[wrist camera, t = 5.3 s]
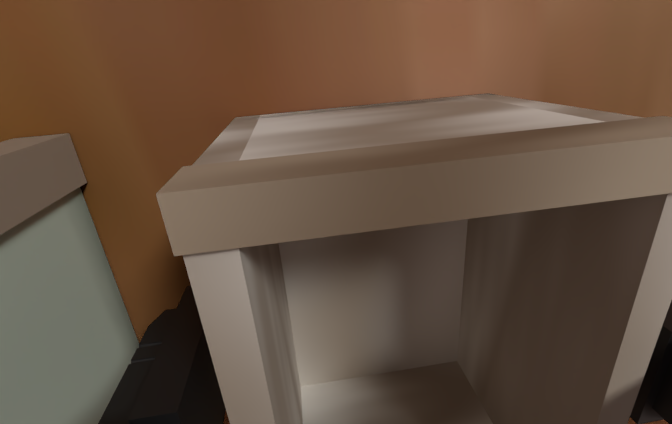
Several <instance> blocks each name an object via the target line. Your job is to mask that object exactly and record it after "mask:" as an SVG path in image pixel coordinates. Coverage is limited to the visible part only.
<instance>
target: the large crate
mask: <svg viewBox="0 0 672 424" xmlns="http://www.w3.org/2000/svg"><path fill="white" fill-rule="evenodd" d="M85 183H87V181H86V178H85V176H84V173H83V170H82V167H81V165H80V162H79V159H78V156H77V154H76V151H75V148H74V146H73V143H72V140H71V137H70V135H69V133H67V134H57V135H46V136H36V137H25V138H15V139H10V140H7V141H3V142H0V424H98V423H99V421H100V419H101V417H102V415H103V413H104V411H105V409H106V407H107V405H108V404H109V402H110V400H111V398H112V396H113V394H114V392H115V390H116V388H117V386H118V384H119V382H120V380H121V378H122V376H123V375H124V373H125V371H126V369H127V367H128V365H129V364H131V359H132V357H133V355H134V353H135V351H136V349H137V348H139V342H138V340H137V337H136V334H135V332H134V329H133V326H132V324H131V321H130V318H129V316H128V313H127V310H126V308H125V305H124V303H123V300H122V297H121V295H120V292H119V289H118V287H117V284H116V281H115V279H114V276H113V273H112V271H111V268H110V266H109V263H108V260H107V258H106V255H105V252H104V250H103V247H102V244H101V242H100V239H99V236H98V234H97V231H96V228H95V226H94V223H93V221H92V218H91V215H90V213H89V210H88V207H87V205H86V202H85V199H84V197H83V194H82V191H81V189H80V187H81V186H82V185H84V184H85Z"/></svg>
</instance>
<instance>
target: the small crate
mask: <svg viewBox="0 0 672 424" xmlns="http://www.w3.org/2000/svg"><path fill="white" fill-rule="evenodd" d="M156 196H157V200H158V203H159V207H160V210H161V213H162V217H163V220H164V224H165V227H166V231H167V234H168V237H169V241H170V244H171V248H172V251H173V255H174V256H180V255H183V258H184V262H185V266H186V269H187V273H188V276H189V280H190V283H191V287H192V291H193V294H194V298H195V301H196V305H197V308H198V312H199V315H200V319H201V323H202V326H203V330H204V333H205V337H206V340H207V344H208V348H209V351H210V355H211V358H212V362H213V365H214V369H215V372H216V376H217V380H218V383H219V387H220V390H221V394H222V397H223V401H224V404H225V408H226V412H227V415H228V419H229V422H230V424H627V423H628V420H629V418H630V415H631V412H632V409H633V406H634V404H635V401H636V398H637V395H638V392H639V390H640V387H641V384H642V381H643V379H644V376H645V373H646V370H647V367H648V365H649V362H650V359H651V356H652V353H653V351H654V348H655V345H656V342H657V339H658V337H659V334H660V331H661V328H662V325H663V323H664V320H665V317H666V314H667V311H668V309H669V306H670V303H671V300H672V117H667V116H657V117H647V118H643V117H636V116H630V115H624V114H617V113H611V112H604V111H598V110H591V109H585V108H578V107H572V106H565V105H559V104H552V103H546V102H539V101H533V100H526V99H520V98H513V97H507V96H501V95H494V94H478V95H467V96H457V97H446V98H436V99H425V100H415V101H404V102H394V103H383V104H373V105H362V106H352V107H341V108H330V109H320V110H309V111H299V112H288V113H278V114H267V115H257V116H246V117H236V118H235V119H234V120H233V121H232V122H231V123H230V124H229V125H228V126H227V127H226V129H225V130H224V131H223V132H222V133H221V134H220V135H219V136H218V137H217V138H216V140H215V141H214V142H213V143H212V144H211V145H210V146H209V147H208V148H207V149H206V151H205V152H204V153H203V154H202V155H201V156H200V157H199V158H198V159H197V161H196V162H195V163H194V164H193V165H192V166H183V167H182V168H181V169H180V170H179V171H178V172H177V173H176V174H175V175H174V176H173V177H172V178H171V179H170V180H169V181H168V182H167V183H166V184H165V185H164V186H163V187H162V188H161V189H160V190H159V191H158V192H157V193H156Z"/></svg>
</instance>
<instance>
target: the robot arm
mask: <svg viewBox="0 0 672 424" xmlns="http://www.w3.org/2000/svg"><path fill="white" fill-rule="evenodd" d="M225 410H226V408H225V404H224V401H223V397H222V394H221V390H220V387H219V383H218V380H217V376H216V372H215V369H214V365H213V362H212V358H211V355H210V351H209V348H208V344H207V340H206V337H205V333H204V330H203V326H202V323H201V319H200V315H199V312H198V308H197V305H196V301H195V298H194V294H193V291H192V287H191V286H187V287H186V289H185V291H184V293H183V296H182V298H181V300H180V302H179V305H178V307H177V309H170V310H165V311H164V312H163V313H162V314H161V315H160V316H159V317H158V318H157V319H156V320H155V321H154V322H152V323H151V324H150V325H149V326H148V328H147V330H146V332H145V334H144V336H143V338H142V340H141V342H140V344H139V348H137V349H136V351H135V353H134V355H133V357H132V359H131V364H129V365H128V367H127V369H126V371H125V373H124V375H123V376H122V378H121V380H120V382H119V384H118V386H117V388H116V390H115V392H114V394H113V396H112V398H111V400H110V402H109V404H108V405H107V407H106V409H105V411H104V413H103V415H102V417H101V419H100V421H99V423H98V424H223V422H224V416H225ZM630 417H631V418H632V419H633V420H634V421H635V422H636V423H637V424H642V423H648V422H653V421H658V420H663V419H664V420H665V421H667V422H668V423H669V424H672V300H671V303H670V306H669V309H668V311H667V314H666V317H665V320H664V323H663V325H662V328H661V331H660V334H659V337H658V339H657V342H656V345H655V348H654V351H653V353H652V356H651V359H650V362H649V365H648V367H647V370H646V373H645V376H644V379H643V381H642V384H641V387H640V390H639V392H638V395H637V398H636V401H635V404H634V406H633V409H632V412H631V415H630Z"/></svg>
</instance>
